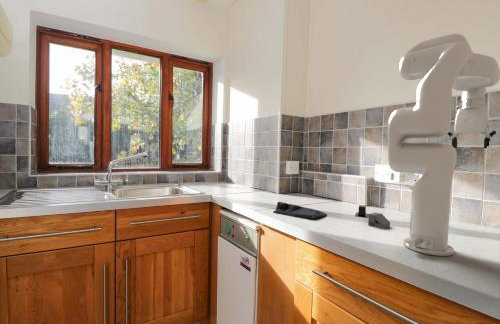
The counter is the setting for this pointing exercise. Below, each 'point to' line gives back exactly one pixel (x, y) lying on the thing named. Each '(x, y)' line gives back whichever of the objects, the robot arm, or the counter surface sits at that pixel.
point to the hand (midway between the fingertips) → (469, 148)
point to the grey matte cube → (378, 221)
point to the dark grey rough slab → (298, 211)
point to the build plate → (362, 212)
